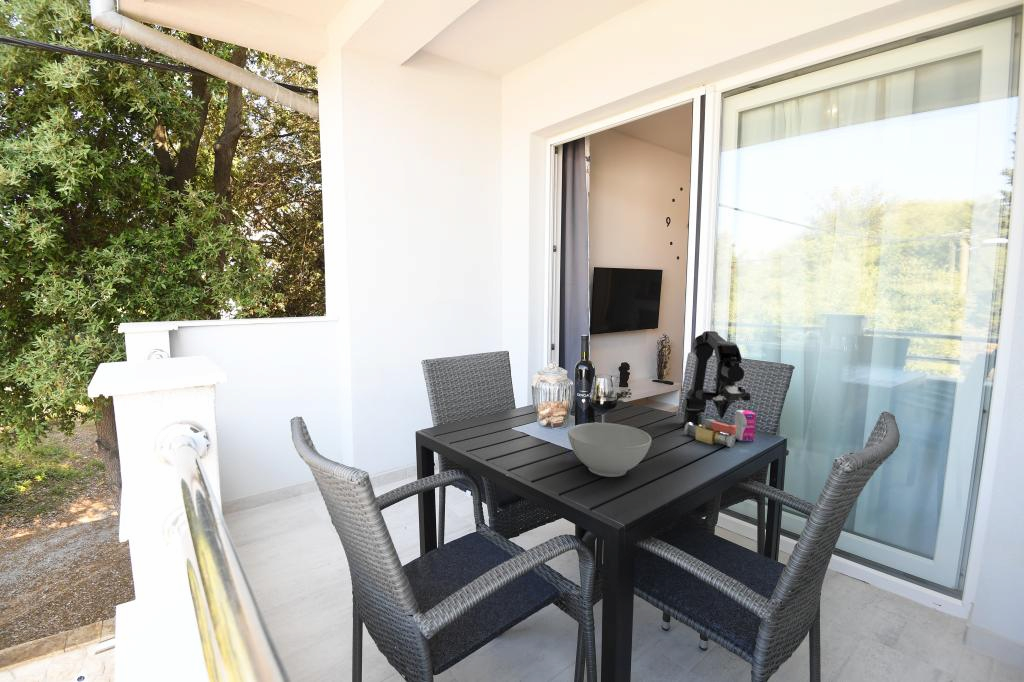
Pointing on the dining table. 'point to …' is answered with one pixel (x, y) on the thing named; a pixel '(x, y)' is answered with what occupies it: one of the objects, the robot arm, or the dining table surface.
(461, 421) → the dining table surface
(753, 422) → the supplement box
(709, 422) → the lever
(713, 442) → the valve body
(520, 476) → the dining table surface
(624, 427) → the decorative bowl
